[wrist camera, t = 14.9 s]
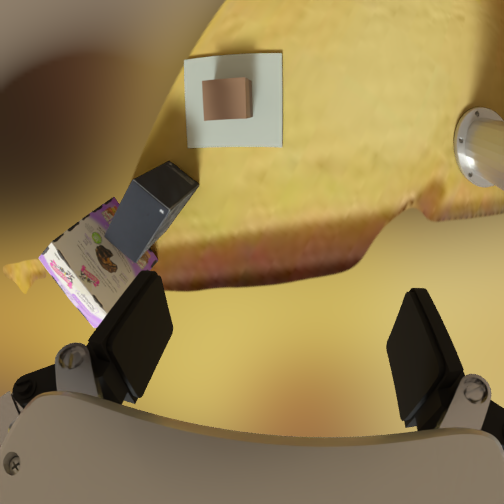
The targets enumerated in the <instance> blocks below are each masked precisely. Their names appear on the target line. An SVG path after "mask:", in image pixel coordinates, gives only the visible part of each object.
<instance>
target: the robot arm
mask: <svg viewBox="0 0 504 504" xmlns="http://www.w3.org/2000/svg"><path fill="white" fill-rule="evenodd" d="M454 152H455V157H456V161H457V164H458V166H459V169H460V171H461V172H462V174H463V175H464V176H465V177H466V178H467V179H468V180H469V181H470V182H472V183H473V184H475V185H477V186H480V187H490V186H494V185H495V186H497V187H499V188H500V189H502V190H504V121H503V119H502V118H501V117H500V116H499V115H498V114H497V113H496V112H494V111H493V110H491V109H488V108H484V107H475V108H472V109H470V110H468V111H467V112H466V113H465V114H464V115H463V116H462V117H461V119H460V120H459V122H458V124H457V127H456V131H455V136H454ZM172 332H173V324H172V321H171V317H170V313H169V309H168V305H167V300H166V296H165V292H164V288H163V283H162V279H161V277H160V276H158V275H157V273H156V272H155V271H146V270H142V271H140V272H139V274H138V275H137V276H136V277H135V279H134V280H133V281H132V282H131V284H130V285H129V286H128V288H127V289H126V290H125V291H124V293H123V294H122V295H121V296H120V298H119V299H118V300H117V302H116V303H115V304H114V306H113V307H112V308H111V310H110V311H109V312H108V314H107V315H106V316H105V318H104V319H103V320H102V322H101V323H100V324H99V326H98V327H97V328H96V330H95V331H94V333H93V334H92V335H91V337H90V338H89V340H88V341H89V343H88V345H87V346H85V345H84V344H82V343H71V344H68V345H66V346H64V347H63V348H62V349H61V350H60V351H59V352H58V354H57V355H56V358H55V364H54V365H51V366H48V367H45V368H42V369H40V370H37V371H34V372H32V373H29V374H26V375H23V376H22V377H20V378H19V379H18V380H17V381H16V383H15V384H14V387H13V392H12V393H11V392H10V391H9V392H7V393H6V394H4V395H3V396H2V397H0V504H504V408H502V407H501V406H499V405H498V404H496V403H494V402H493V401H492V400H491V388H490V386H489V384H488V382H486V380H485V379H484V378H482V377H481V376H479V375H476V374H469V375H466V376H465V375H464V372H463V367H462V364H461V362H460V359H459V357H458V355H457V352H456V350H455V348H454V346H453V343H452V341H451V339H450V336H449V334H448V332H447V330H446V327H445V325H444V323H443V321H442V319H441V317H440V315H439V313H438V311H437V309H436V307H435V305H434V303H433V301H432V299H431V297H430V295H429V293H428V292H427V290H426V289H424V288H412V289H411V290H410V291H409V292H407V293H406V294H405V297H404V300H403V303H402V305H401V308H400V311H399V313H398V316H397V319H396V321H395V324H394V326H393V329H392V331H391V334H390V336H389V339H388V341H387V346H386V349H387V354H388V358H389V362H390V367H391V371H392V376H393V381H394V385H395V390H396V396H397V401H398V406H399V412H400V417H401V420H402V421H405V427H406V428H407V427H414V426H417V429H418V431H415V432H408V433H399V434H390V435H389V434H388V435H377V436H362V437H293V436H277V435H265V434H256V433H248V432H240V431H233V430H226V429H220V428H214V427H209V426H203V425H198V424H193V423H188V422H183V421H179V420H175V419H171V418H167V417H163V416H159V415H155V414H152V413H148V412H145V411H141V410H137V409H134V408H131V407H127V406H124V405H122V403H123V401H127V402H131V403H134V404H135V403H136V401H137V399H138V398H141V397H142V396H143V394H144V392H145V389H146V387H147V385H148V383H149V381H150V379H151V377H152V375H153V372H154V370H155V368H156V366H157V364H158V362H159V360H160V358H161V356H162V354H163V352H164V349H165V347H166V345H167V343H168V341H169V339H170V337H171V335H172Z"/></svg>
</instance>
